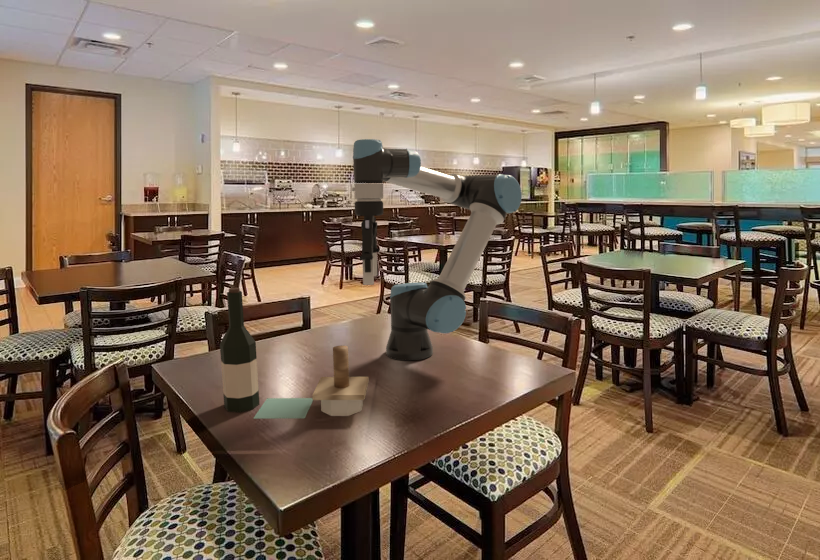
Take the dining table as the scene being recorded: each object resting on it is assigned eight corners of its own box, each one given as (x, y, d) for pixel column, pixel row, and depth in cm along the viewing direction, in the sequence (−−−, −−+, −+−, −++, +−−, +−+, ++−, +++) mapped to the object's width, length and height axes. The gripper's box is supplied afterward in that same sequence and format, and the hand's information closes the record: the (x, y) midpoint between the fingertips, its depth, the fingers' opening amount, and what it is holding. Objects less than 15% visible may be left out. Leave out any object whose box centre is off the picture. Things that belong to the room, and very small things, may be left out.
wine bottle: (244, 398, 138) (237, 284, 133) (266, 405, 134) (259, 287, 128) (217, 409, 131) (208, 289, 126) (239, 417, 127) (230, 293, 122)
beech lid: (368, 381, 136) (367, 340, 134) (364, 399, 124) (363, 355, 122) (321, 381, 136) (319, 340, 134) (312, 400, 124) (310, 355, 122)
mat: (314, 400, 137) (314, 397, 137) (304, 420, 125) (304, 418, 125) (267, 400, 137) (267, 398, 137) (253, 420, 125) (253, 418, 125)
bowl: (363, 401, 136) (363, 382, 135) (360, 418, 126) (359, 397, 125) (325, 402, 136) (325, 383, 135) (319, 418, 126) (318, 398, 125)
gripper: (359, 199, 153) (361, 272, 157) (348, 201, 129) (351, 288, 132) (385, 198, 153) (386, 272, 157) (380, 201, 128) (381, 288, 132)
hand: (370, 280), depth 144 cm, fingers open, 13 cm apart
